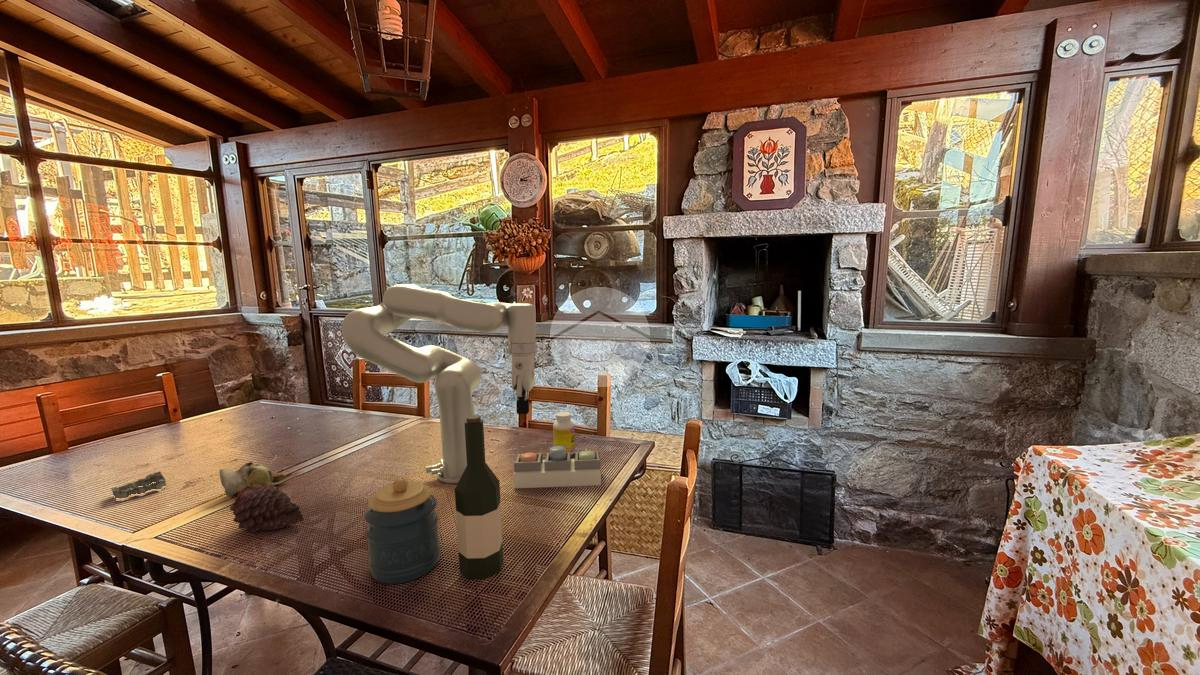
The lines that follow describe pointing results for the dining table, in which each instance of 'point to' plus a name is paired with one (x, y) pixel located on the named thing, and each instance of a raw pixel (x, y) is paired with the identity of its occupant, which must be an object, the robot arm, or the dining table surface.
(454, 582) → the dining table surface
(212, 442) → the dining table surface
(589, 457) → the sage button
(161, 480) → the tree bark piece
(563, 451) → the slate button
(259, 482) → the ceramic sculpture
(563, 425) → the supplement bottle
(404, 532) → the canister
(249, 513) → the pine cone
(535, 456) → the terracotta button
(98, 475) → the dining table surface
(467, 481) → the wine bottle
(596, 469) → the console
